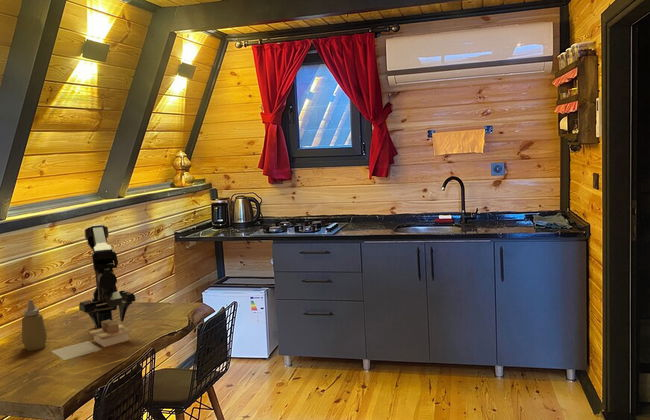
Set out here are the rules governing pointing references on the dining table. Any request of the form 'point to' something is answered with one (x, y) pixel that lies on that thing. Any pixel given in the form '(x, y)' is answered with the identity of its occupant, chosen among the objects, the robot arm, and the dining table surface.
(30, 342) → the squeeze bottle
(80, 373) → the dining table surface
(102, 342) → the dish
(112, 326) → the lid
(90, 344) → the mat
